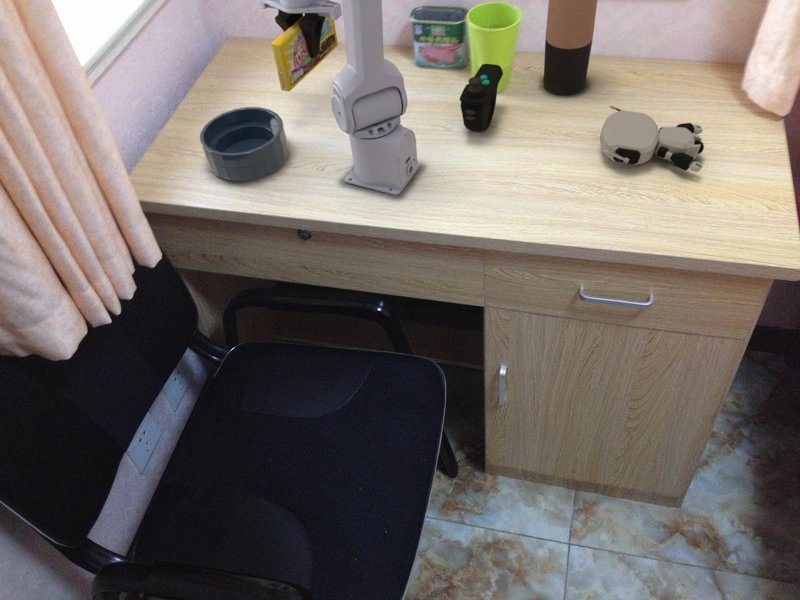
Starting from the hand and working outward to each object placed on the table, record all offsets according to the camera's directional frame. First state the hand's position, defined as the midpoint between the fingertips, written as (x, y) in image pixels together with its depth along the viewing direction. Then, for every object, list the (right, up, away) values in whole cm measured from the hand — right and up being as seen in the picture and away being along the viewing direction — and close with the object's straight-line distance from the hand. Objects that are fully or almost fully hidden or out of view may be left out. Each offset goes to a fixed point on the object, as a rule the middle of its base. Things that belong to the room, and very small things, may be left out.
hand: (308, 54), depth 116 cm
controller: (+29, -12, -1) cm, 32 cm away
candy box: (0, -2, +2) cm, 3 cm away
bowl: (-9, -18, -3) cm, 21 cm away
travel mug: (+44, -4, +5) cm, 45 cm away
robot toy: (+54, -19, -10) cm, 58 cm away
